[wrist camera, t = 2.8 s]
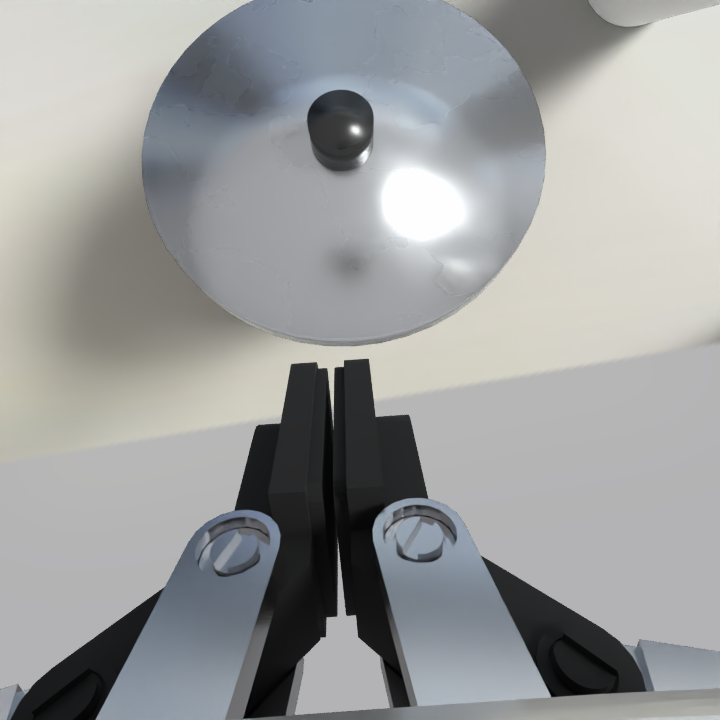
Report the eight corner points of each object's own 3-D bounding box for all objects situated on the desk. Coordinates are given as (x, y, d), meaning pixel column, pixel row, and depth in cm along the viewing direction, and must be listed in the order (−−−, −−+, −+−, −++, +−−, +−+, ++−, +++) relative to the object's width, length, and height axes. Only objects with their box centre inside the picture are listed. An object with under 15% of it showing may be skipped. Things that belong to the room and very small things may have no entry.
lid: (509, -10, 22) (528, -72, 19) (561, 333, 18) (592, 312, 16) (160, 13, 22) (133, -46, 19) (148, 358, 19) (113, 341, 16)
